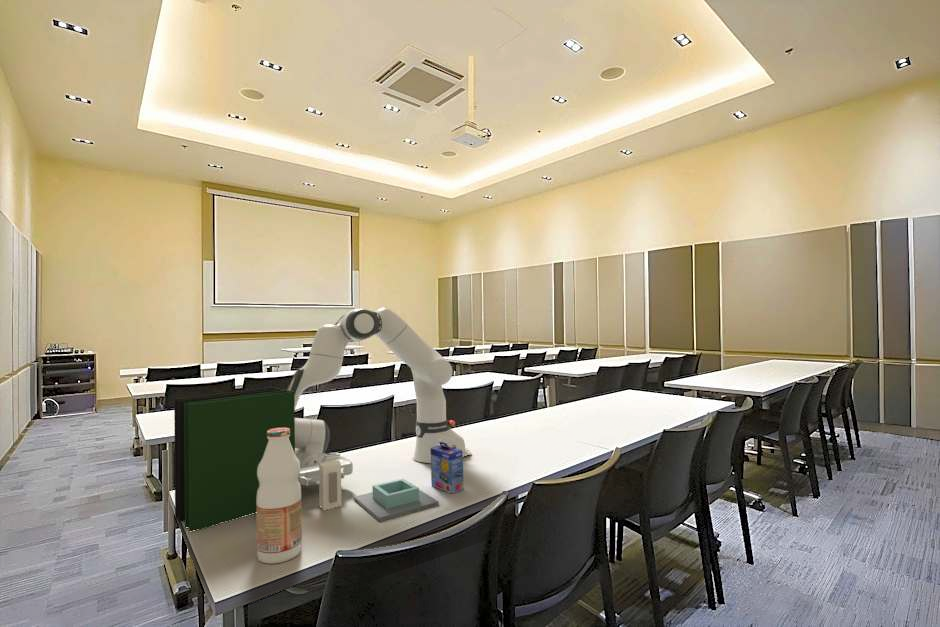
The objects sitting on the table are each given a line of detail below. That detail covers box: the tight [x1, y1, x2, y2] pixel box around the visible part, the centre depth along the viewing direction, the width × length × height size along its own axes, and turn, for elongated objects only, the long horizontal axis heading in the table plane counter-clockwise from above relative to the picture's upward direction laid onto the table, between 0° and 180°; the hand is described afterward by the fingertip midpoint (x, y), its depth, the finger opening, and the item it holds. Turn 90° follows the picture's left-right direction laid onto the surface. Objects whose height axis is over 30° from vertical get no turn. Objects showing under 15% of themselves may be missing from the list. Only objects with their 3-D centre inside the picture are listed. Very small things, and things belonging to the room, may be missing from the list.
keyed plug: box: [318, 460, 342, 511], centre depth 131 cm, size 5×5×12 cm
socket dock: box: [353, 478, 440, 522], centre depth 133 cm, size 18×18×4 cm
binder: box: [173, 386, 296, 531], centre depth 130 cm, size 27×15×32 cm, turn 136°
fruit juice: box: [256, 428, 303, 565], centre depth 104 cm, size 9×9×28 cm
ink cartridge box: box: [430, 442, 465, 494], centre depth 144 cm, size 10×6×14 cm, turn 44°
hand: (326, 479), depth 134 cm, fingers open, 8 cm apart
